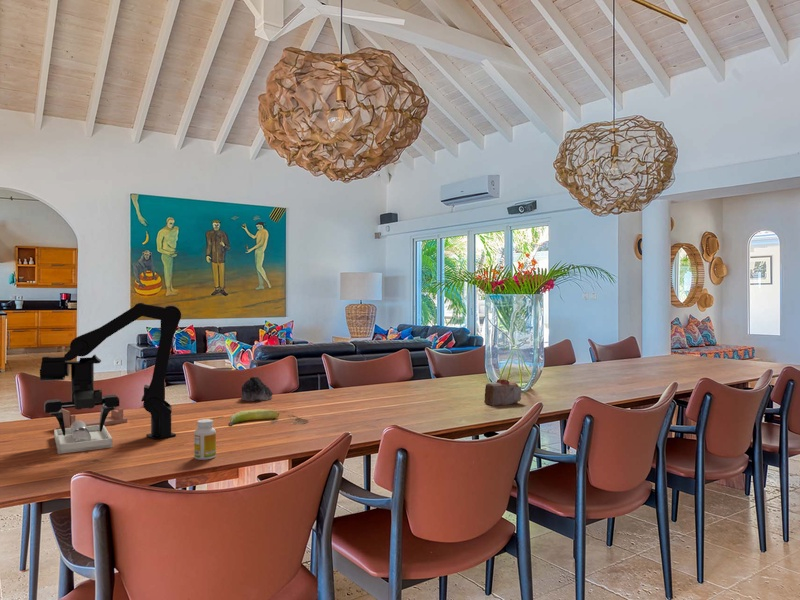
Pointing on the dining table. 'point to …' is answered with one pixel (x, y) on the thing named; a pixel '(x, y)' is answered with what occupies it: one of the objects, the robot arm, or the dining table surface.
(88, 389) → the robot arm
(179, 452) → the dining table surface
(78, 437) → the pin
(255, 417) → the unripe green banana
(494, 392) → the food item
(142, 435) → the dining table surface
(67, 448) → the tray
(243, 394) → the dark grey rough lump
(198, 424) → the supplement bottle
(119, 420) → the hitch bracket
